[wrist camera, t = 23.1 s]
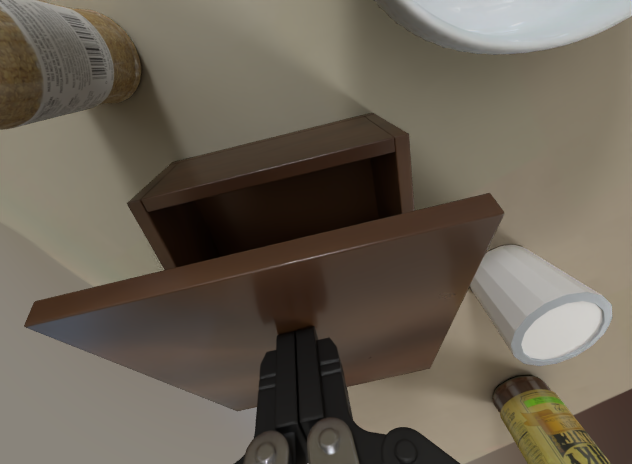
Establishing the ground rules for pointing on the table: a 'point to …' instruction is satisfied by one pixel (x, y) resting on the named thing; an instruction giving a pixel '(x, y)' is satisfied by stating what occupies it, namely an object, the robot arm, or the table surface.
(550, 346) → the shot glass
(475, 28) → the cereal bowl
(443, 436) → the table surface
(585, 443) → the sauce bottle
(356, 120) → the chest
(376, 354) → the chest lid
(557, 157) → the table surface
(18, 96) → the sprinkles bottle
